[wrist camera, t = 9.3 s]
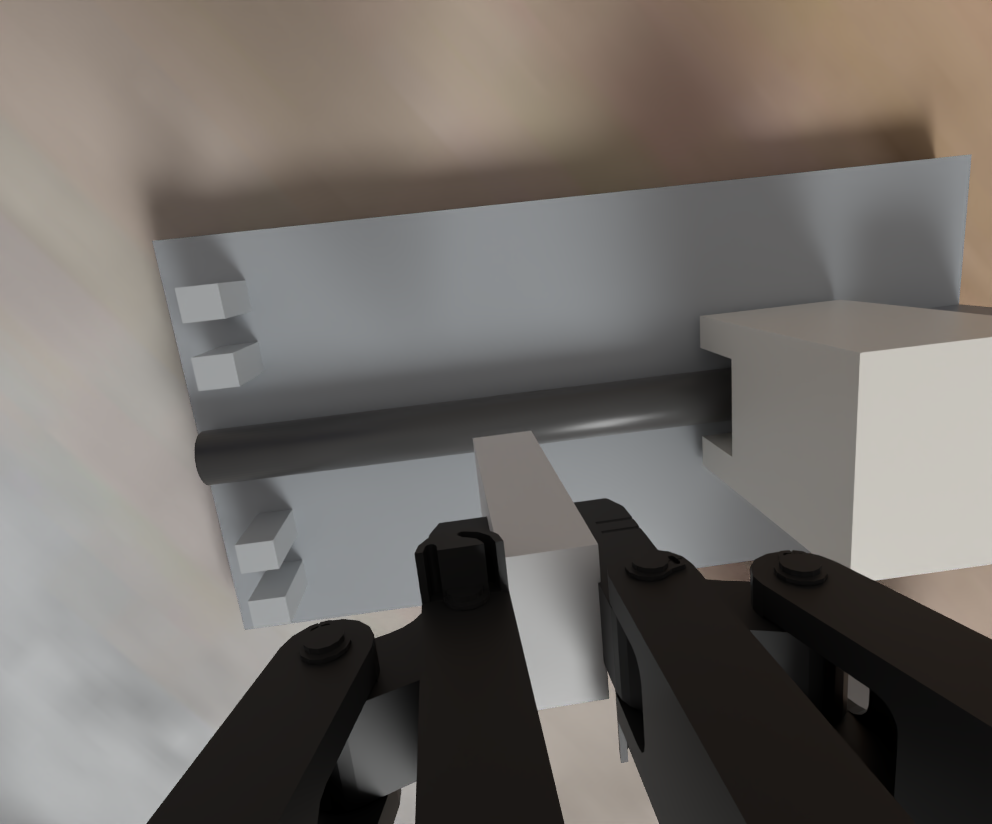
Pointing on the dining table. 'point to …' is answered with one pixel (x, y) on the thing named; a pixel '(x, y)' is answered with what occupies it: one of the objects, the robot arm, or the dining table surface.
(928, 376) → the cream rail slider block
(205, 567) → the dining table surface
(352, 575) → the sliding block rail
